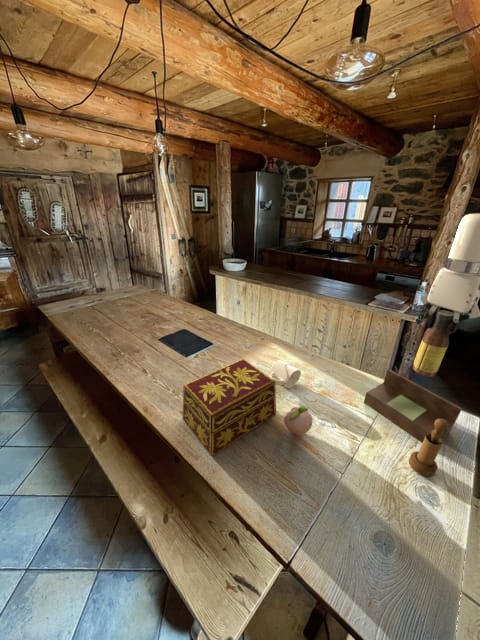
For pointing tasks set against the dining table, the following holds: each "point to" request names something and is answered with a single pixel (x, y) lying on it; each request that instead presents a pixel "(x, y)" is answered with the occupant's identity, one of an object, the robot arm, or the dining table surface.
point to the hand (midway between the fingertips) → (439, 329)
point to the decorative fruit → (298, 420)
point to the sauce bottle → (433, 345)
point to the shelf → (411, 406)
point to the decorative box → (228, 404)
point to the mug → (284, 374)
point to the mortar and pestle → (429, 451)
